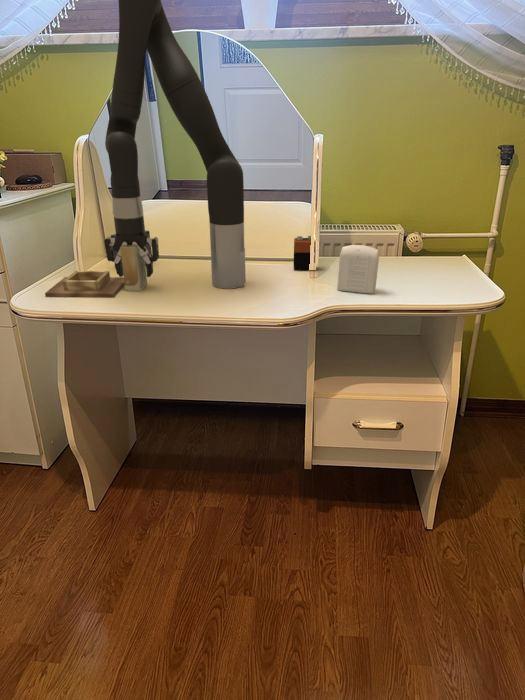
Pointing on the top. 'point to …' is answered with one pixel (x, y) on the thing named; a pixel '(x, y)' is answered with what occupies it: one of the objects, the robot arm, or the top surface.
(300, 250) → the battery
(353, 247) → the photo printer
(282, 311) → the top surface
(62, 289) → the cosmetics stand
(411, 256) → the top surface
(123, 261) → the skincare box
